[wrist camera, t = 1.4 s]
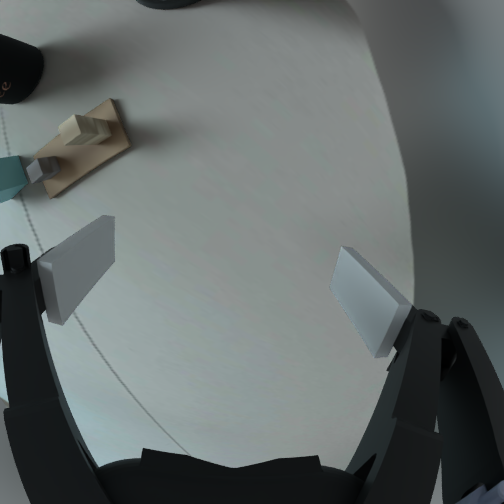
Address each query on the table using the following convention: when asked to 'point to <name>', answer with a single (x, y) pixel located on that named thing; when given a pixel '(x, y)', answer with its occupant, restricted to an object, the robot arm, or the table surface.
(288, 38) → the table surface
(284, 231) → the table surface
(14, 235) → the table surface
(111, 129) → the stand
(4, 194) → the teal rectangular block
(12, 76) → the coffee jar
